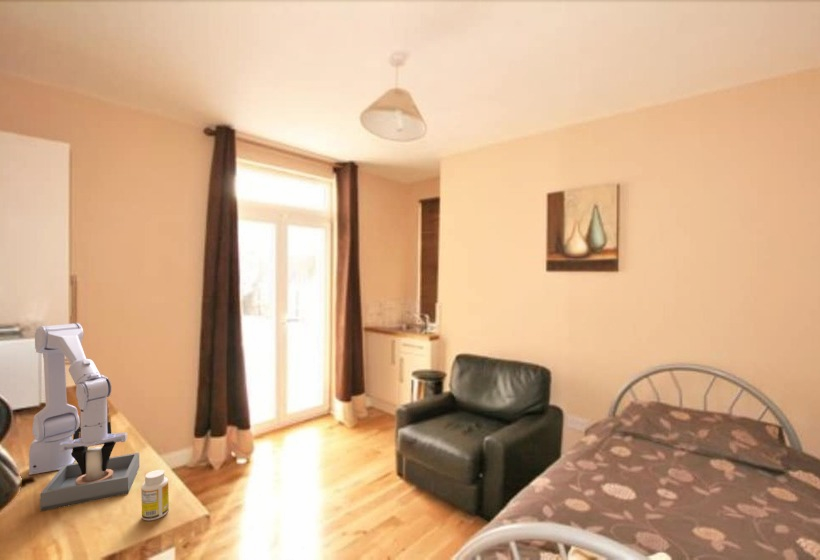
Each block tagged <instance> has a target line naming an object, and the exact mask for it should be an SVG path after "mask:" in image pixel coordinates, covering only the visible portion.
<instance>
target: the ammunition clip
mask: <svg viewBox="0 0 820 560" xmlns="http://www.w3.org/2000/svg"><path fill="white" fill-rule="evenodd" d="M110 409H111V408H110V404H109V403H108V402H107V434H112V420H111V419H112V418H111V417H112V415H111V410H110ZM77 412H78V413H79V411H78V409H77ZM79 420H80V424H79V427H78V429H77V430H76V431H75V434H73V435H72V440H75V439H79V438H81V413H80V416H79Z"/></svg>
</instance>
